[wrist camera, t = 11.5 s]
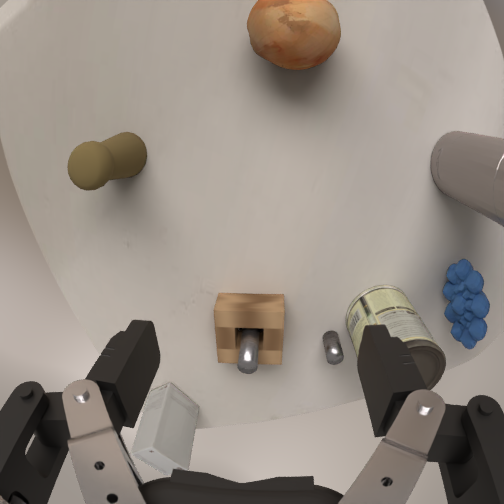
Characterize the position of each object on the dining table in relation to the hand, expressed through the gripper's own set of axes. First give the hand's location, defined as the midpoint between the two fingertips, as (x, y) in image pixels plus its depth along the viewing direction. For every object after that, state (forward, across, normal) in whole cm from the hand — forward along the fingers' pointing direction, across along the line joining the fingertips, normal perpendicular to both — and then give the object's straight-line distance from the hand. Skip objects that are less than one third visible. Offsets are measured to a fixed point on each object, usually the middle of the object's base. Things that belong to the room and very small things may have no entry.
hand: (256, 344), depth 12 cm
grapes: (+30, -29, +14) cm, 44 cm away
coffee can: (+30, -16, +19) cm, 39 cm away
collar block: (+30, +2, +19) cm, 36 cm away
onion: (+30, -3, -18) cm, 35 cm away
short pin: (+30, -9, +23) cm, 39 cm away
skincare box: (+30, +17, +38) cm, 51 cm away
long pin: (+30, +2, +19) cm, 36 cm away
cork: (+30, +18, -5) cm, 35 cm away
